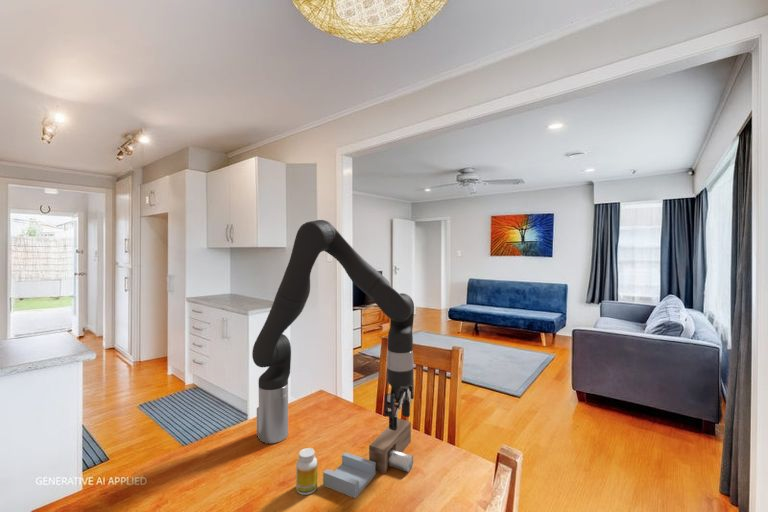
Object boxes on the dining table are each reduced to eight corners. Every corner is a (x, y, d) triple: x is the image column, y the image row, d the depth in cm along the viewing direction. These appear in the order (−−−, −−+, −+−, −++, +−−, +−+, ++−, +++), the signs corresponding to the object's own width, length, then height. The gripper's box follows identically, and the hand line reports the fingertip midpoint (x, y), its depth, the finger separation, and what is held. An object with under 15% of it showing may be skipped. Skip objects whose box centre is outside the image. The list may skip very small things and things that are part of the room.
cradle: (323, 485, 92) (323, 472, 92) (345, 464, 101) (345, 452, 101) (355, 498, 87) (355, 484, 87) (375, 474, 96) (375, 462, 96)
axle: (368, 462, 102) (370, 446, 102) (375, 456, 105) (377, 442, 106) (406, 474, 96) (408, 458, 97) (412, 469, 100) (413, 453, 100)
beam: (369, 468, 99) (369, 445, 99) (396, 437, 115) (396, 417, 115) (384, 473, 97) (384, 450, 96) (410, 441, 112) (410, 421, 112)
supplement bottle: (294, 485, 92) (294, 449, 92) (314, 479, 94) (314, 444, 94) (298, 498, 87) (298, 460, 87) (319, 491, 90) (319, 455, 89)
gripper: (401, 376, 90) (401, 438, 91) (422, 360, 103) (421, 414, 103) (376, 371, 94) (375, 430, 94) (399, 356, 106) (398, 409, 107)
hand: (399, 422), depth 99 cm, fingers open, 8 cm apart
